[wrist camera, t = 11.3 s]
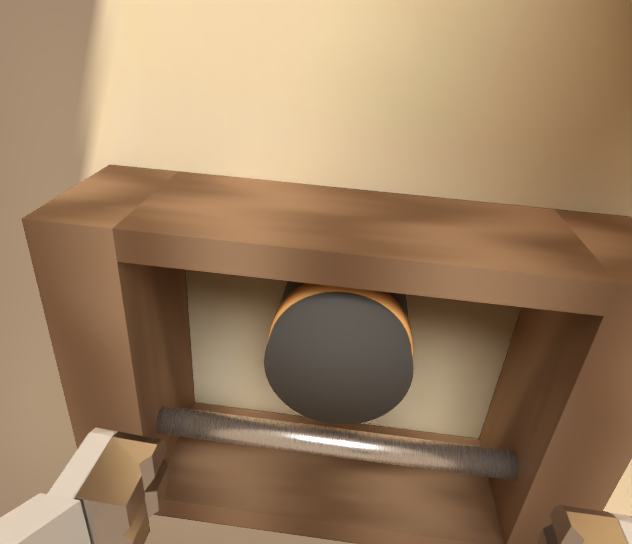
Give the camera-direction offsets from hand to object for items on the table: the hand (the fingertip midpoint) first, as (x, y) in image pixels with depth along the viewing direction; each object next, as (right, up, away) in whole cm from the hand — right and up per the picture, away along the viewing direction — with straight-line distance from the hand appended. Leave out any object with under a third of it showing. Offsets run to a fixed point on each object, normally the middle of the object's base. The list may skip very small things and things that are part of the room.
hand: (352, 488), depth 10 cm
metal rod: (0, -1, +8) cm, 8 cm away
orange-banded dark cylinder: (0, +4, +9) cm, 9 cm away
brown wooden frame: (0, +2, +10) cm, 10 cm away
